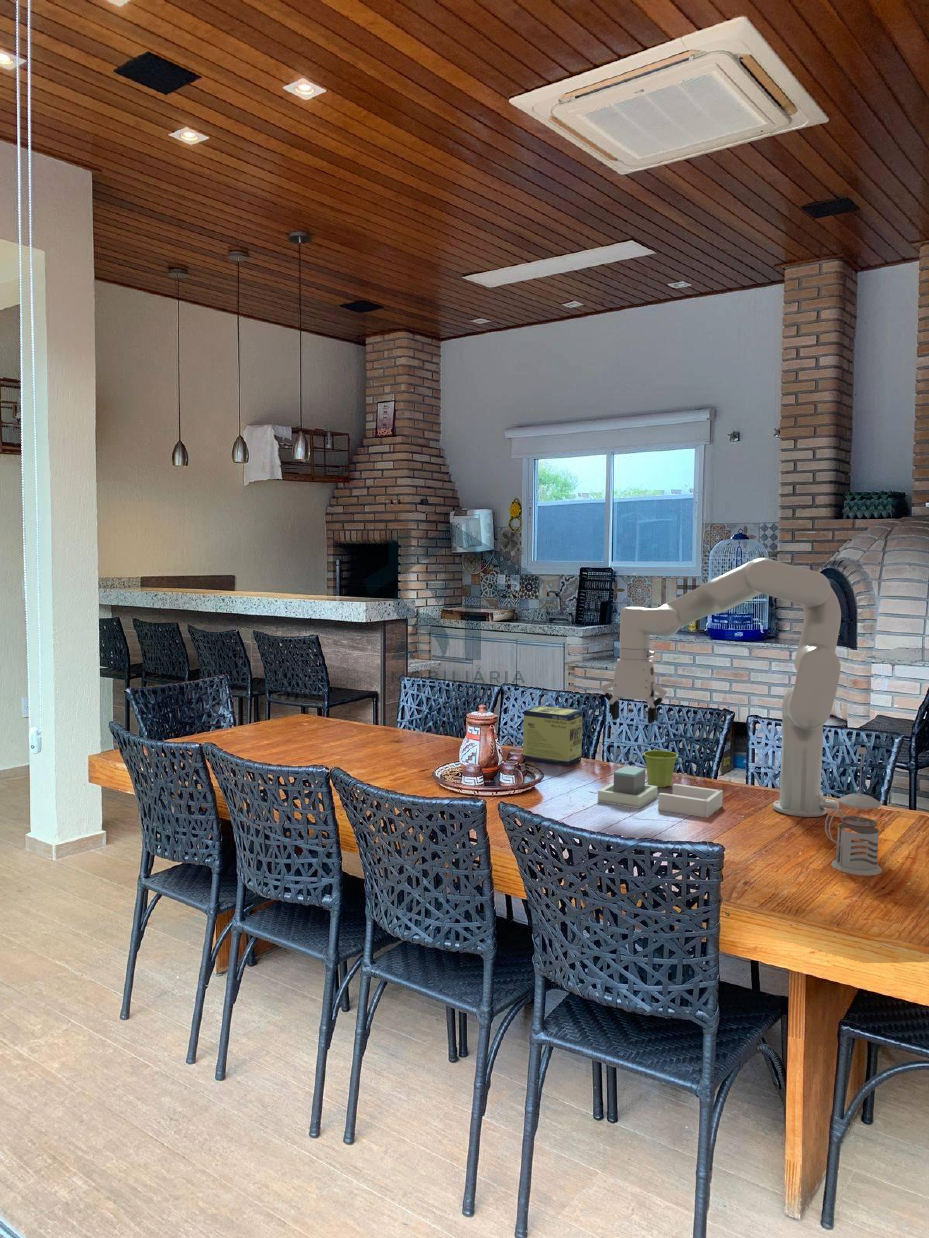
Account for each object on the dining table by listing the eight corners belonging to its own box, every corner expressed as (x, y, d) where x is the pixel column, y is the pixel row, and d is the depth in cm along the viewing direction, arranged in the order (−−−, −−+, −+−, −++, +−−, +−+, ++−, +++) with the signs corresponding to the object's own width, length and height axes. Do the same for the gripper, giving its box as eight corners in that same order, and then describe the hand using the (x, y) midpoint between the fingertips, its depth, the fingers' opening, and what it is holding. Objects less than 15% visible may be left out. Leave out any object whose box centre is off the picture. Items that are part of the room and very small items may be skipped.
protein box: (568, 766, 278) (569, 715, 277) (521, 760, 286) (522, 709, 284) (582, 760, 287) (583, 710, 286) (536, 753, 295) (537, 705, 293)
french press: (892, 875, 188) (898, 752, 186) (836, 875, 187) (842, 752, 185) (867, 858, 197) (872, 742, 196) (814, 859, 197) (819, 742, 195)
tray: (657, 796, 245) (657, 786, 245) (639, 808, 234) (639, 797, 234) (616, 790, 251) (617, 780, 251) (597, 801, 240) (598, 790, 239)
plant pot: (677, 790, 252) (678, 758, 251) (642, 788, 254) (643, 756, 253) (676, 781, 261) (677, 751, 261) (642, 779, 263) (643, 749, 262)
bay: (722, 805, 237) (722, 790, 237) (707, 817, 226) (708, 801, 226) (674, 798, 243) (674, 783, 243) (658, 809, 233) (658, 793, 232)
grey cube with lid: (644, 795, 244) (645, 768, 244) (633, 801, 237) (634, 774, 237) (624, 791, 247) (625, 765, 246) (613, 798, 240) (613, 771, 240)
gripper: (671, 655, 238) (670, 721, 240) (608, 651, 247) (607, 715, 249) (662, 658, 232) (660, 726, 233) (597, 654, 241) (596, 719, 242)
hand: (633, 720), depth 241 cm, fingers open, 9 cm apart
